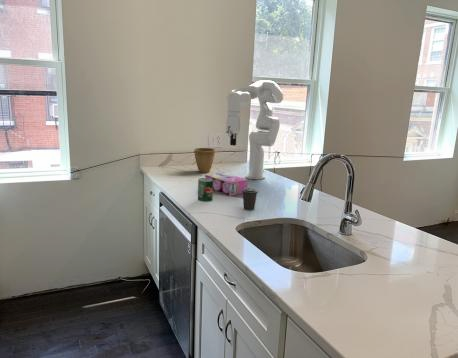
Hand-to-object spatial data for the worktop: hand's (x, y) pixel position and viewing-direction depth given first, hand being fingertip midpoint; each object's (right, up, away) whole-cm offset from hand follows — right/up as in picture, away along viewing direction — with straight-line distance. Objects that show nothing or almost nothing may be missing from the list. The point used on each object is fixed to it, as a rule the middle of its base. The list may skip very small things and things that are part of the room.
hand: (233, 145), depth 227 cm
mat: (-2, -28, -7) cm, 29 cm away
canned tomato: (-15, -31, -24) cm, 42 cm away
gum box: (+1, -22, -1) cm, 22 cm away
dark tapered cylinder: (+7, -35, -37) cm, 51 cm away
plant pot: (-20, -15, +44) cm, 50 cm away
